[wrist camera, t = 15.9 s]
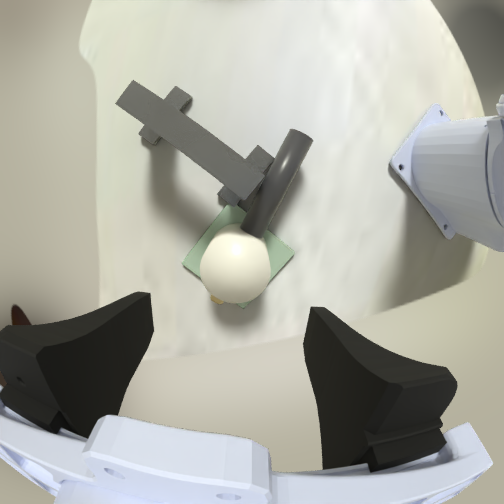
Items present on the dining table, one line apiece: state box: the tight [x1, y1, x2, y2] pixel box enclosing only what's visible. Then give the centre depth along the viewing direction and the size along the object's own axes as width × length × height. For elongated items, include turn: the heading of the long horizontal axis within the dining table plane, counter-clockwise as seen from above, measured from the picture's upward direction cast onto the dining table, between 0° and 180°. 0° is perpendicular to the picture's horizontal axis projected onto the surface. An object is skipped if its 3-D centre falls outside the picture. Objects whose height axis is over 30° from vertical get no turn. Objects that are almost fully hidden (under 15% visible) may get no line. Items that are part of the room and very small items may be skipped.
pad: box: [182, 203, 295, 309], centre depth 20 cm, size 6×6×1 cm
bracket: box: [115, 80, 275, 207], centre depth 15 cm, size 9×4×6 cm, turn 51°
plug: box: [200, 129, 313, 304], centre depth 17 cm, size 4×12×4 cm, turn 153°
